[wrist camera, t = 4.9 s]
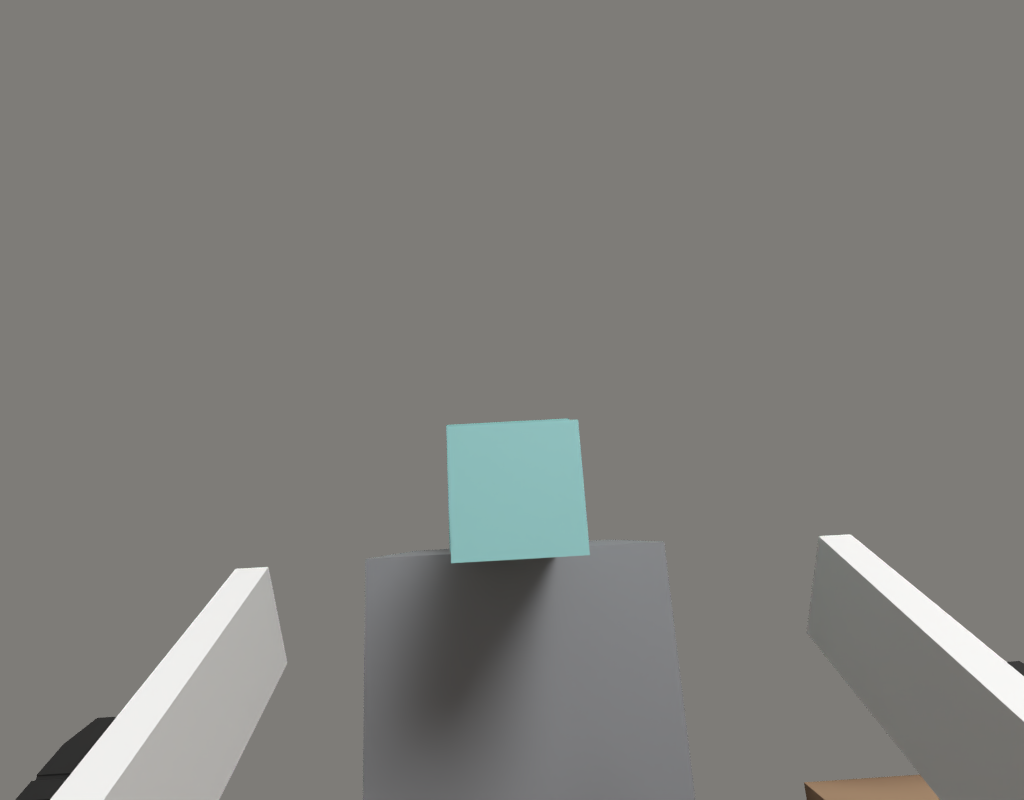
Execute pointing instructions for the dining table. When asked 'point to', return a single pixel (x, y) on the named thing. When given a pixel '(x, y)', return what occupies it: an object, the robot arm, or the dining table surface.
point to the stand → (523, 678)
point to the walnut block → (871, 789)
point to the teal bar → (516, 491)
